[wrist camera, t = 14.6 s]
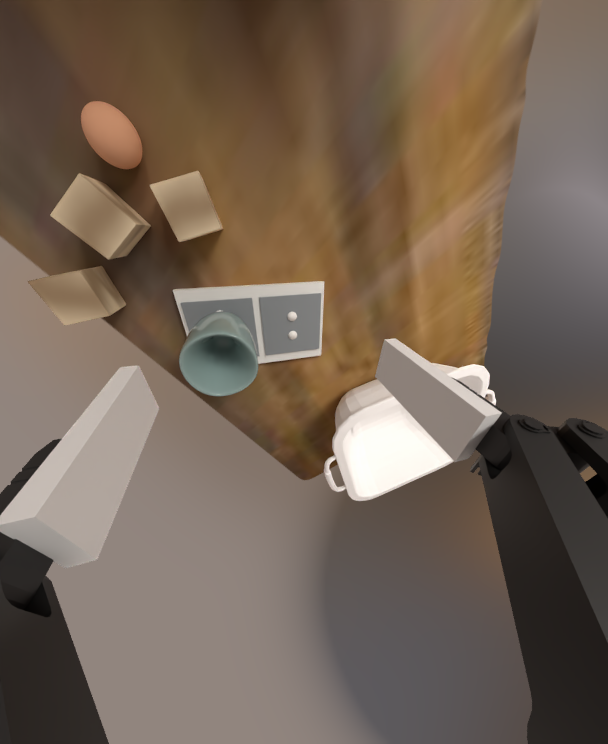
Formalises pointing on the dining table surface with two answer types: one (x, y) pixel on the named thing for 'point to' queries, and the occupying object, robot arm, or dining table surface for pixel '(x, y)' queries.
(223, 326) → the cup
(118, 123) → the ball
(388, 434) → the baking dish
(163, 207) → the block
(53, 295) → the block
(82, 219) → the block
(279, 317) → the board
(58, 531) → the robot arm
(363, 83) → the dining table surface
